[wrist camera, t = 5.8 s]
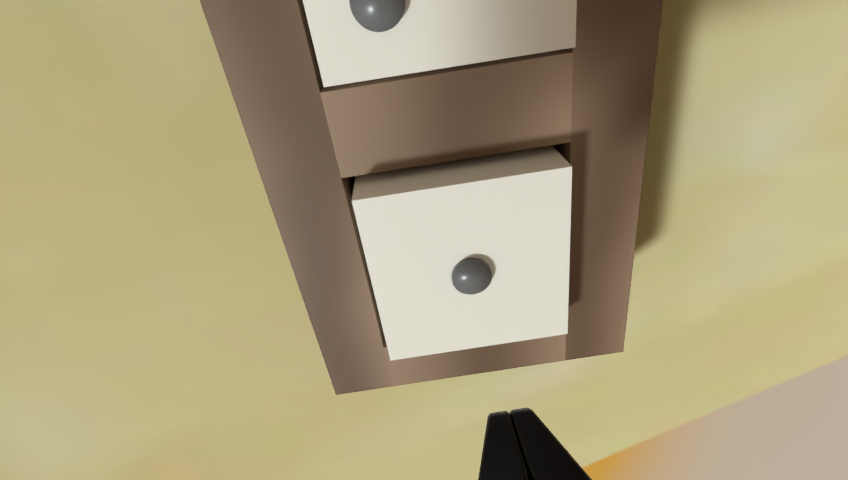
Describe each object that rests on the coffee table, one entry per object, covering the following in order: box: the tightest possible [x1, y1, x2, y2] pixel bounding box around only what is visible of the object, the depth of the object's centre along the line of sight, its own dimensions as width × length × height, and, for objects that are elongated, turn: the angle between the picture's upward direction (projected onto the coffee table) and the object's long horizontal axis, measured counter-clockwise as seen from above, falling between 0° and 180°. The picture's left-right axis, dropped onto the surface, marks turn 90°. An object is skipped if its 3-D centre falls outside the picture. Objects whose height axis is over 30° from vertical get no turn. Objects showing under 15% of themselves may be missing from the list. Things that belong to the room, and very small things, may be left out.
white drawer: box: [352, 145, 572, 361], centre depth 15 cm, size 6×6×3 cm
